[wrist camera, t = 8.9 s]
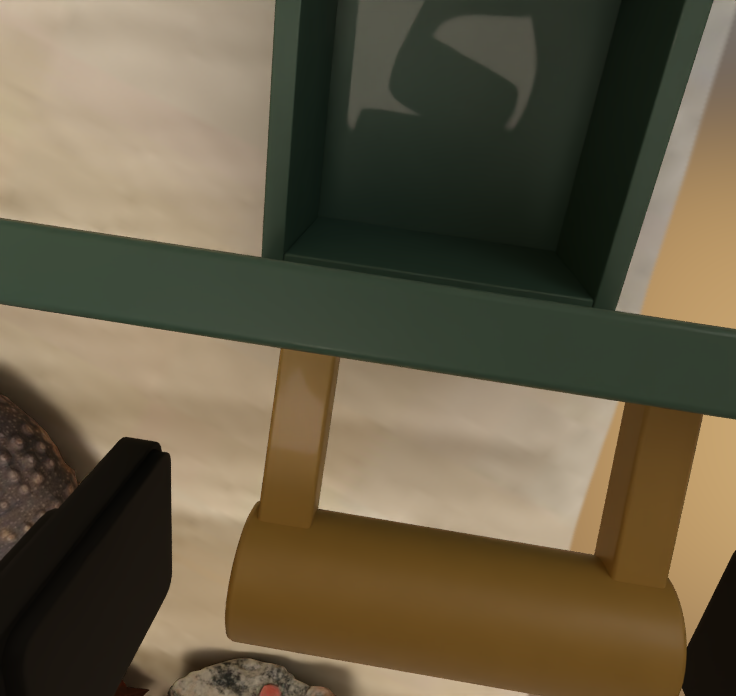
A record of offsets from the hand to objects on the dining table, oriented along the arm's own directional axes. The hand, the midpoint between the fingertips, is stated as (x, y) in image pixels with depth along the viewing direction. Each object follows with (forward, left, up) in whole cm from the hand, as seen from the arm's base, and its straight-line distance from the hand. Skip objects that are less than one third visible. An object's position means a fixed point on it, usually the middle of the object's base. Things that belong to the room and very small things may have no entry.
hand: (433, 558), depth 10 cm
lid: (-2, -2, -5) cm, 6 cm away
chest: (-6, -5, -20) cm, 22 cm away
